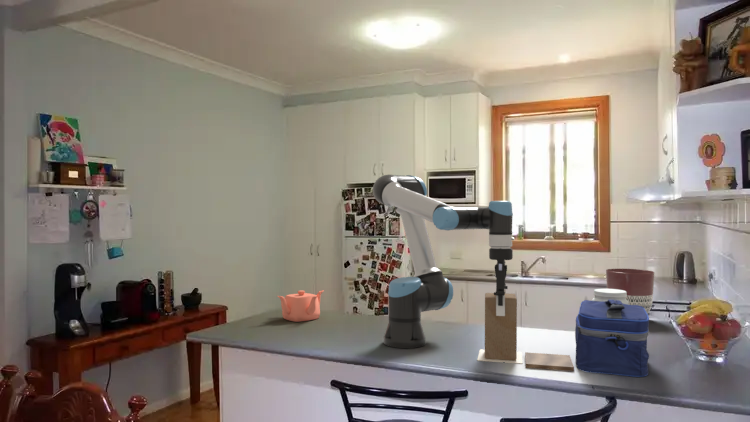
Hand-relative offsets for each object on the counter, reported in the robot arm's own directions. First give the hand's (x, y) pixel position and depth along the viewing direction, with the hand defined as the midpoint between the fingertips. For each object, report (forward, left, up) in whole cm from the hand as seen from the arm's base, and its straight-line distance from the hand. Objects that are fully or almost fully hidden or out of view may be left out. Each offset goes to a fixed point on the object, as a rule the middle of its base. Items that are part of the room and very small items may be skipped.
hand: (501, 312), depth 181 cm
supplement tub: (+39, +35, -15) cm, 54 cm away
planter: (+53, +79, -15) cm, 97 cm away
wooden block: (0, 0, -15) cm, 15 cm away
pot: (-86, +40, -15) cm, 96 cm away
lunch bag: (+34, +1, -15) cm, 37 cm away
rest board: (+15, -4, -15) cm, 21 cm away
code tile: (0, 0, -15) cm, 15 cm away
